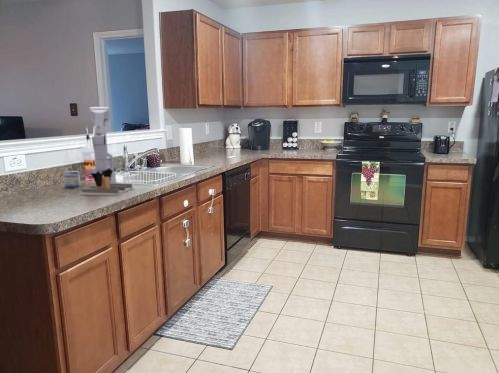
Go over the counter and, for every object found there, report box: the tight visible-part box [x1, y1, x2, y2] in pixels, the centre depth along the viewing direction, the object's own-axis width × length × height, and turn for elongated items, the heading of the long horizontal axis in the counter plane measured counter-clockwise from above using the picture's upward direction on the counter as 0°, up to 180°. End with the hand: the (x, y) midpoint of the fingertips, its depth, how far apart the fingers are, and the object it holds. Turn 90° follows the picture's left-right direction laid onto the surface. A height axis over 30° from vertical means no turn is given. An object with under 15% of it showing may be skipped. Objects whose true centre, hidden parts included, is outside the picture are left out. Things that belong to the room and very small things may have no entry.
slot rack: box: [80, 183, 134, 196], centre depth 201 cm, size 17×20×3 cm
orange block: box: [94, 177, 110, 189], centre depth 197 cm, size 4×6×7 cm, turn 79°
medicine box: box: [62, 170, 82, 188], centre depth 218 cm, size 8×4×9 cm, turn 105°
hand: (103, 185), depth 197 cm, fingers open, 7 cm apart
